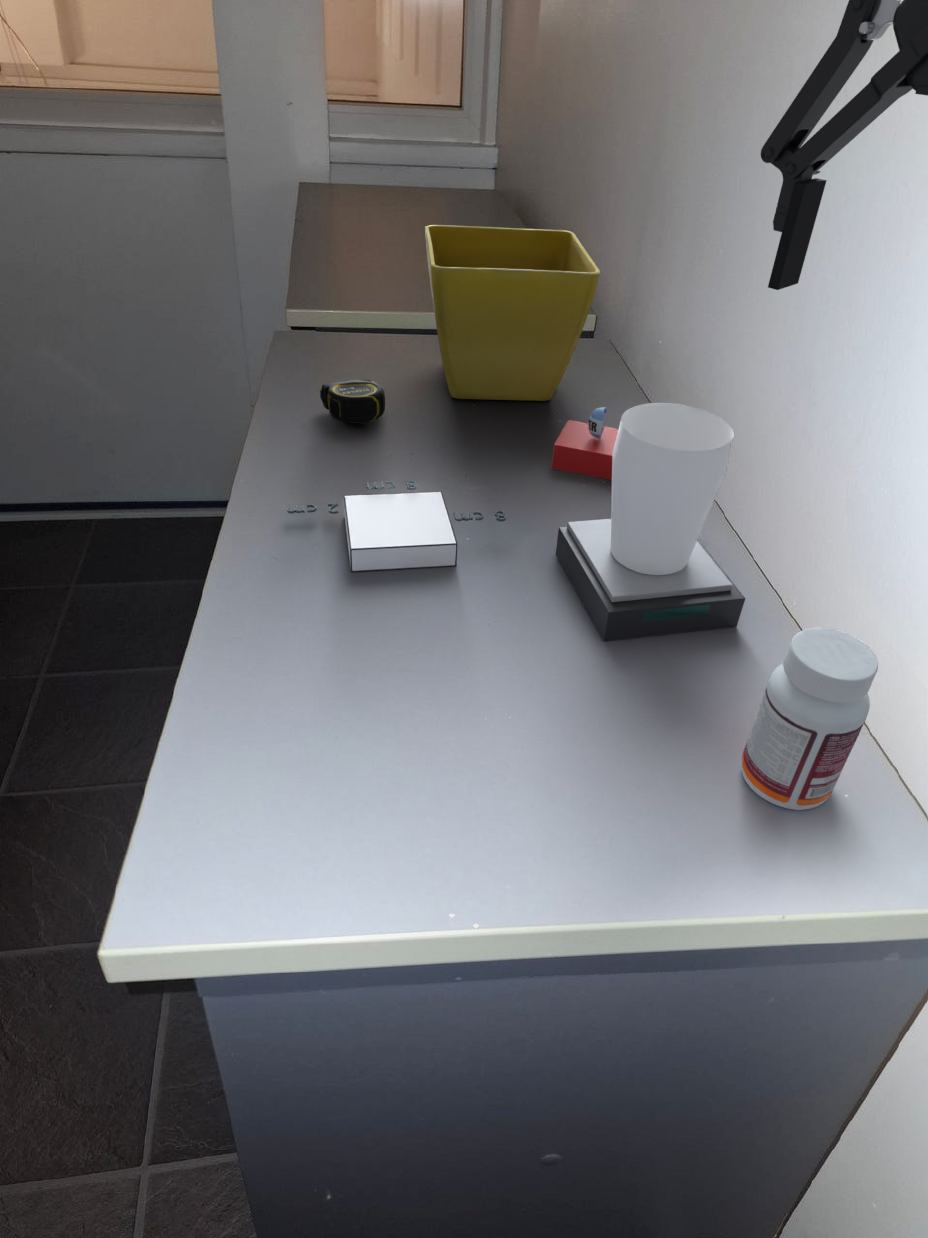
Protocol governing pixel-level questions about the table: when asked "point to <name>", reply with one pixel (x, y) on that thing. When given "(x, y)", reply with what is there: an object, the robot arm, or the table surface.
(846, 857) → the table surface
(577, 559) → the scale
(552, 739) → the table surface
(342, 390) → the tape measure
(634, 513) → the cup
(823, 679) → the pill bottle
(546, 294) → the flower pot
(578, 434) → the red rectangular block
